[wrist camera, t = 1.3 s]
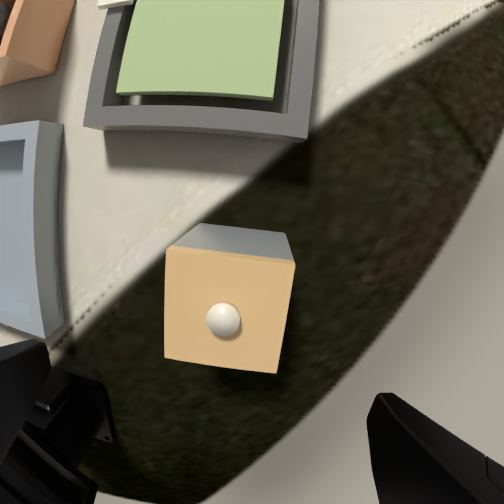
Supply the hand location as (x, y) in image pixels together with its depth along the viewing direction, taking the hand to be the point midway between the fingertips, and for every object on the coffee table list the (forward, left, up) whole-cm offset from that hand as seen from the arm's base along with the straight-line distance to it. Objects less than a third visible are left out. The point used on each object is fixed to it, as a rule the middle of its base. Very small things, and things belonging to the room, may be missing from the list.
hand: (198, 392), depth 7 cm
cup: (+14, +16, -10) cm, 24 cm away
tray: (+1, +16, -10) cm, 19 cm away
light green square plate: (+13, +3, -9) cm, 16 cm away
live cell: (0, 0, -10) cm, 10 cm away
